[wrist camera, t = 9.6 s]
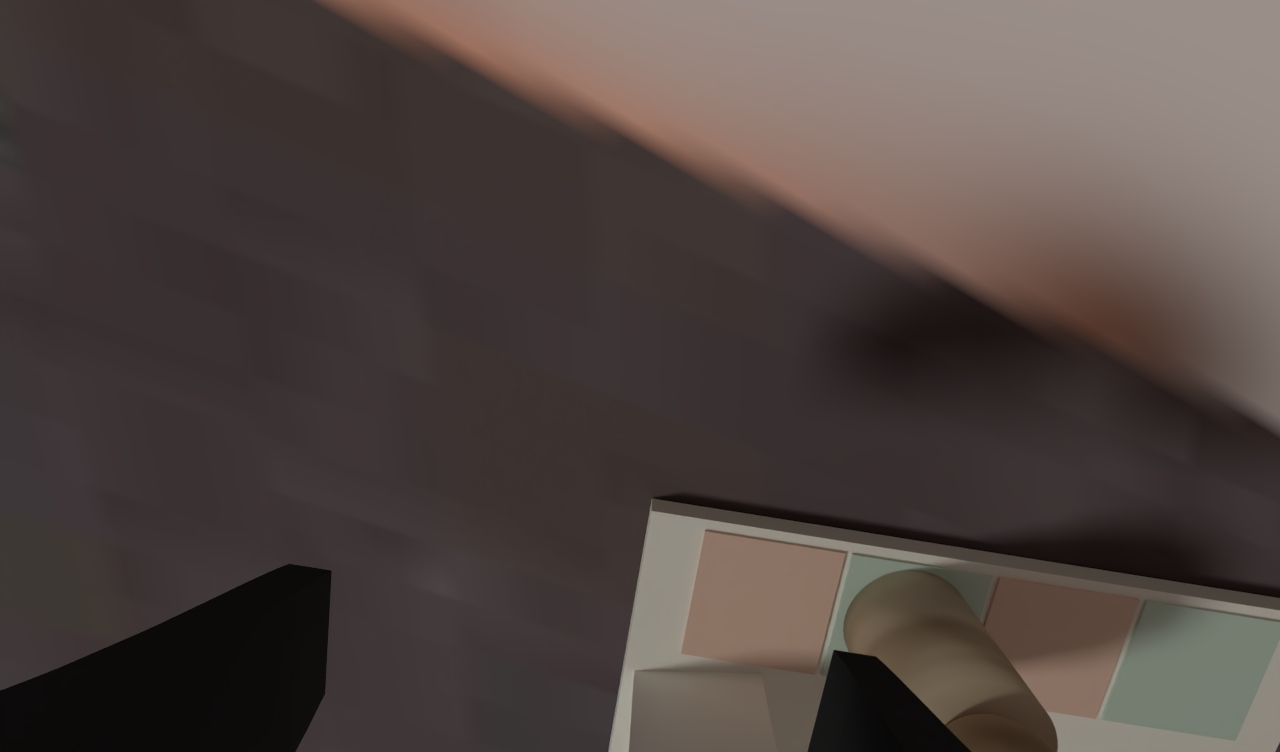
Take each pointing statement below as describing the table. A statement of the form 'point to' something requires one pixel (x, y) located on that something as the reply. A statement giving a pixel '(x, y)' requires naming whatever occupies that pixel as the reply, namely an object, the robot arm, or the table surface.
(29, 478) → the table surface
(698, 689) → the die
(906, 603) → the pawn
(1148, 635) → the board
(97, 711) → the robot arm
